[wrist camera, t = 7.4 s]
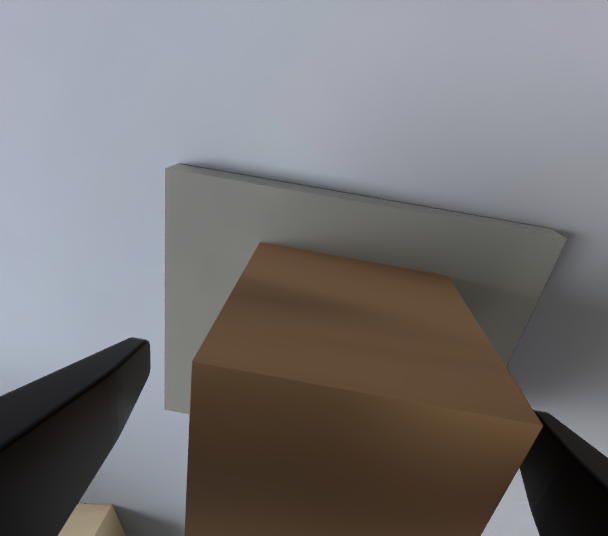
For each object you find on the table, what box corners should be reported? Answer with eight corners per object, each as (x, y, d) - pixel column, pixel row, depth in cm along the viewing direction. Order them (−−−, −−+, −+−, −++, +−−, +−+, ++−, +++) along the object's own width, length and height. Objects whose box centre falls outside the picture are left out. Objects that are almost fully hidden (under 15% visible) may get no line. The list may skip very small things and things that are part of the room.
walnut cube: (398, 417, 12) (436, 613, 7) (242, 388, 12) (183, 565, 7) (448, 275, 10) (543, 425, 5) (259, 242, 10) (192, 361, 5)
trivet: (453, 443, 13) (460, 463, 12) (174, 392, 13) (164, 409, 13) (550, 228, 10) (567, 238, 9) (178, 163, 10) (165, 168, 9)
